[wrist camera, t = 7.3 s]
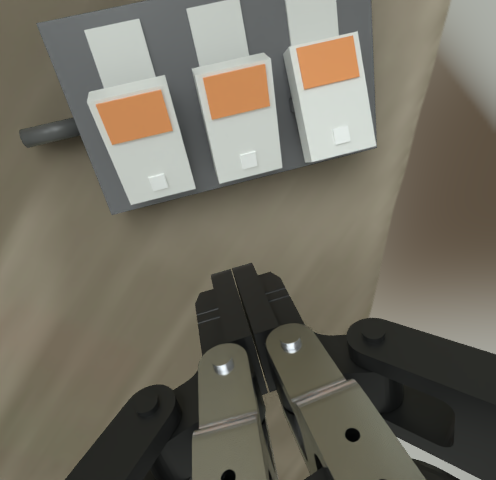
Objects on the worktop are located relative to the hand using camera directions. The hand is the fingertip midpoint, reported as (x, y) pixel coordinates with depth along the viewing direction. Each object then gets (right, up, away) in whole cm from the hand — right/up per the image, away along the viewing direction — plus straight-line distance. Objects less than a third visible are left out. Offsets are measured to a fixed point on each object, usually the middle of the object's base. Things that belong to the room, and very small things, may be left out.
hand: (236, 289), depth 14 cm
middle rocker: (0, +9, +11) cm, 14 cm away
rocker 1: (-6, +8, +10) cm, 14 cm away
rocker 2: (+6, +11, +11) cm, 17 cm away
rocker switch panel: (-3, +12, +15) cm, 19 cm away
